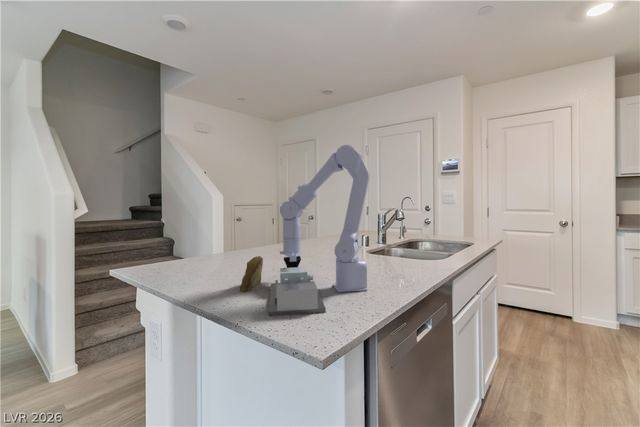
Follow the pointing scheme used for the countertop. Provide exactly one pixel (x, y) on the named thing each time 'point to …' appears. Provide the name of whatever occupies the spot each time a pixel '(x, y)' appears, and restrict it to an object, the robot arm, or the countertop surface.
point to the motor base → (295, 299)
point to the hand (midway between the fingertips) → (292, 278)
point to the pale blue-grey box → (294, 275)
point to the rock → (252, 274)
